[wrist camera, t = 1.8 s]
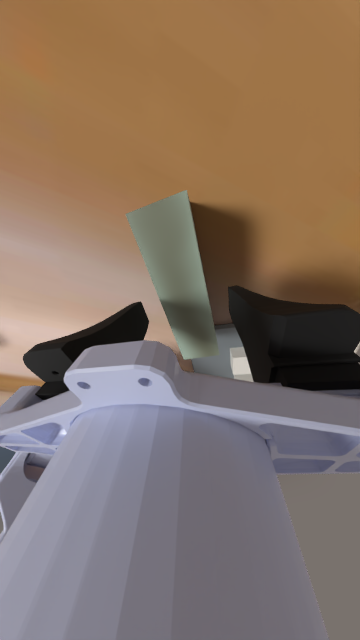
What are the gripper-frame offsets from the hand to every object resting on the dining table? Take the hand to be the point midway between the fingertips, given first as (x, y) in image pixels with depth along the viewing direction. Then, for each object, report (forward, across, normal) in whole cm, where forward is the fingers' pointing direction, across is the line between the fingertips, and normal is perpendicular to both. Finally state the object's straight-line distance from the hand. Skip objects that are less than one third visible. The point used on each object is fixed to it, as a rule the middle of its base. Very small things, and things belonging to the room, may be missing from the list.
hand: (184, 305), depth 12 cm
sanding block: (+8, 0, 0) cm, 8 cm away
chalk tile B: (+6, -6, +14) cm, 17 cm away
